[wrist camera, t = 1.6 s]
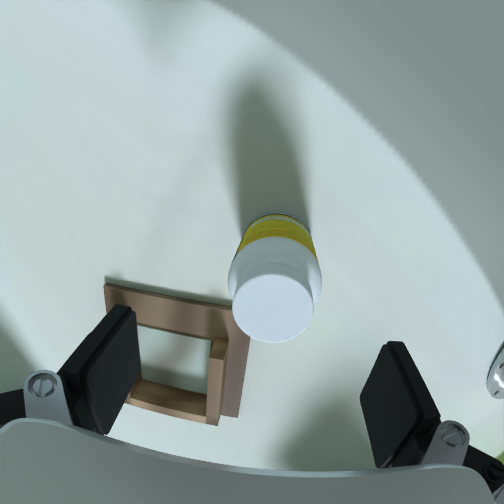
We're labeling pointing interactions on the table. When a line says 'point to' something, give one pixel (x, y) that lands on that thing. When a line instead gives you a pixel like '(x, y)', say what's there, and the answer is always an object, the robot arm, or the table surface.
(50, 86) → the table surface
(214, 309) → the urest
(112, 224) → the table surface
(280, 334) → the supplement bottle
